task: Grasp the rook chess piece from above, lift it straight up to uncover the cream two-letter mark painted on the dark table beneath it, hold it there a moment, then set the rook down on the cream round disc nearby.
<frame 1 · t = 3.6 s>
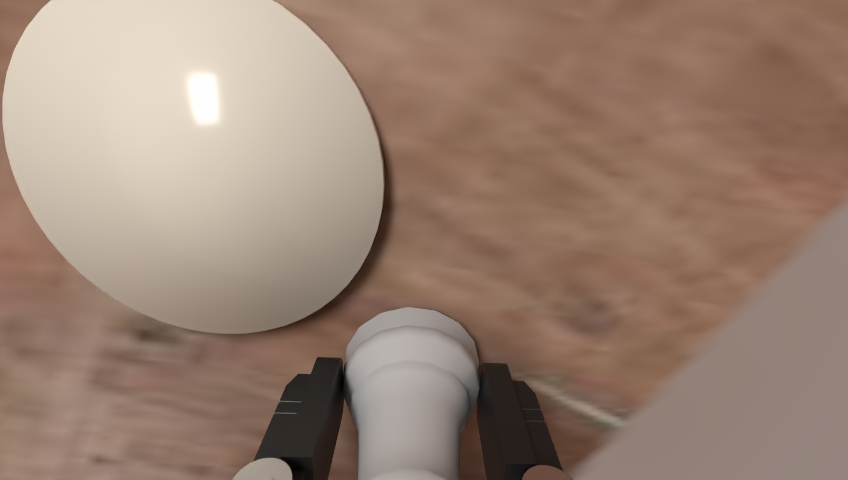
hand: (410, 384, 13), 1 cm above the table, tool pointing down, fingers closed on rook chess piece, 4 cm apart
cream round disc: (210, 175, 12), on the table
rook chess piece: (412, 352, 14), on the table, touching code mark, gripper
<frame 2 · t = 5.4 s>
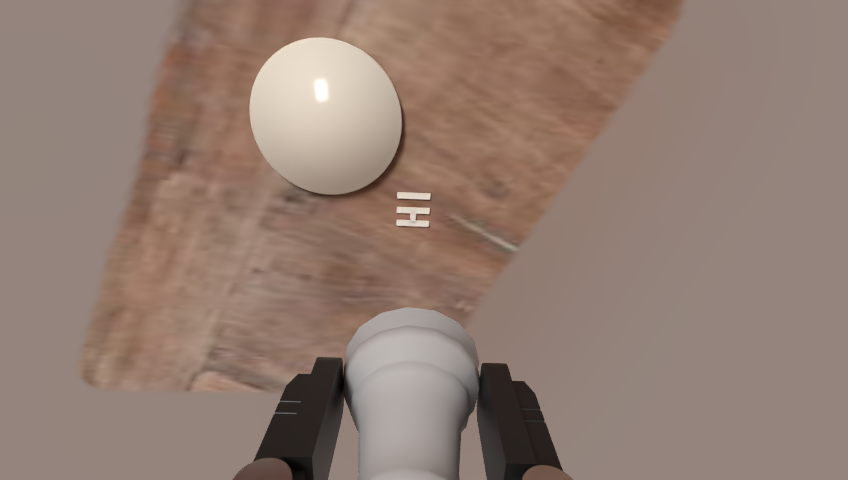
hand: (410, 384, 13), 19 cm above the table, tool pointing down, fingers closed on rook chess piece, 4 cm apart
code mark: (413, 208, 30), on the table
cream round disc: (328, 120, 28), on the table
rook chess piece: (412, 352, 14), point 17 cm above the table, touching gripper
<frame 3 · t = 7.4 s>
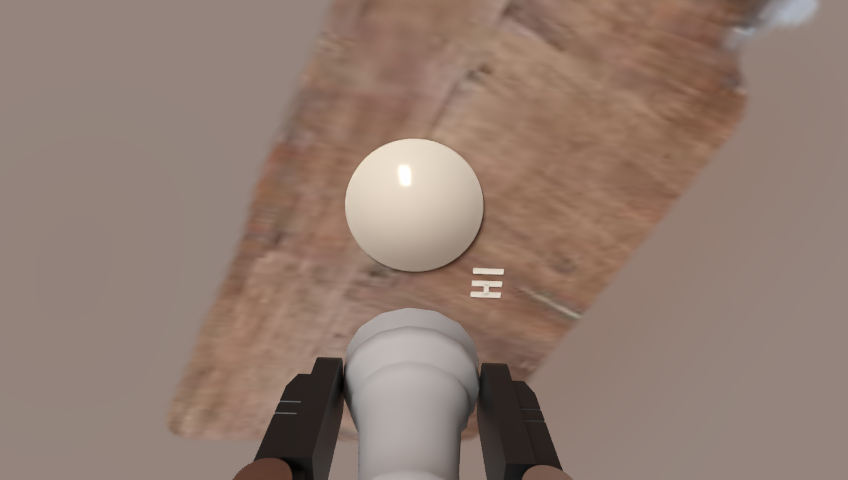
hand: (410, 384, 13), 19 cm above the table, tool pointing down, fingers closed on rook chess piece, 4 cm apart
code mark: (486, 282, 32), on the table
cream round disc: (414, 207, 30), on the table
rook chess piece: (412, 352, 14), point 17 cm above the table, touching gripper
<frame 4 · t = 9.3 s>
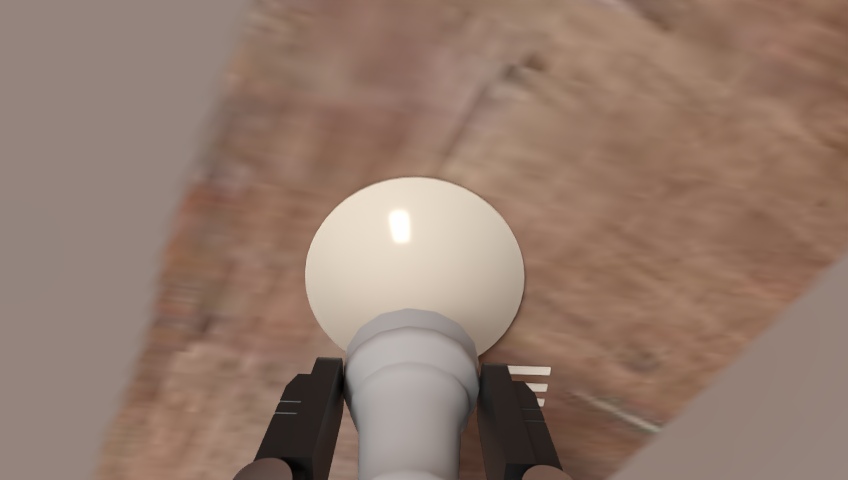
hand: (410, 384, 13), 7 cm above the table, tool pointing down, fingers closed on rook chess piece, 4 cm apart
code mark: (524, 384, 22), on the table
cream round disc: (415, 280, 19), on the table
rook chess piece: (412, 353, 14), point 5 cm above the table, touching gripper
when the fingers open (3 cm above the table, at t = 11.0 s): rook chess piece stays where it is, resting on cream round disc.
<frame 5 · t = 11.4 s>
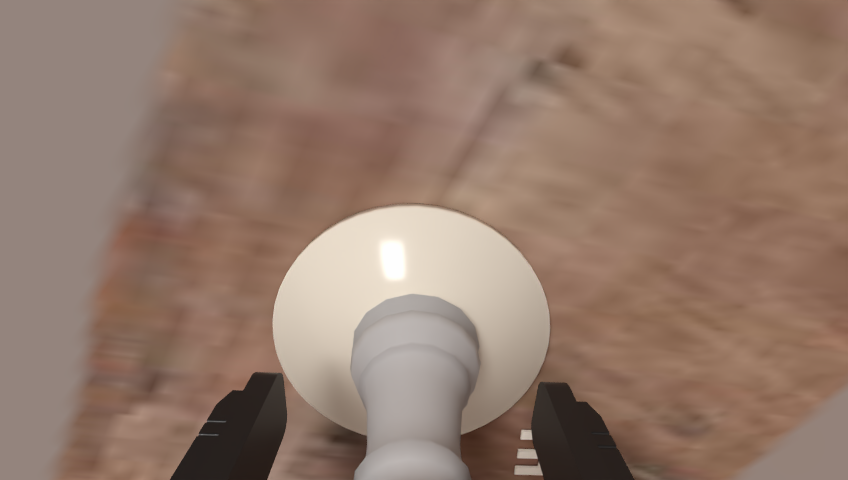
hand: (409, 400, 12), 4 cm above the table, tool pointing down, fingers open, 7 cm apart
code mark: (545, 451, 18), on the table
cream round disc: (412, 330, 15), on the table
rook chess piece: (416, 336, 15), resting on cream round disc
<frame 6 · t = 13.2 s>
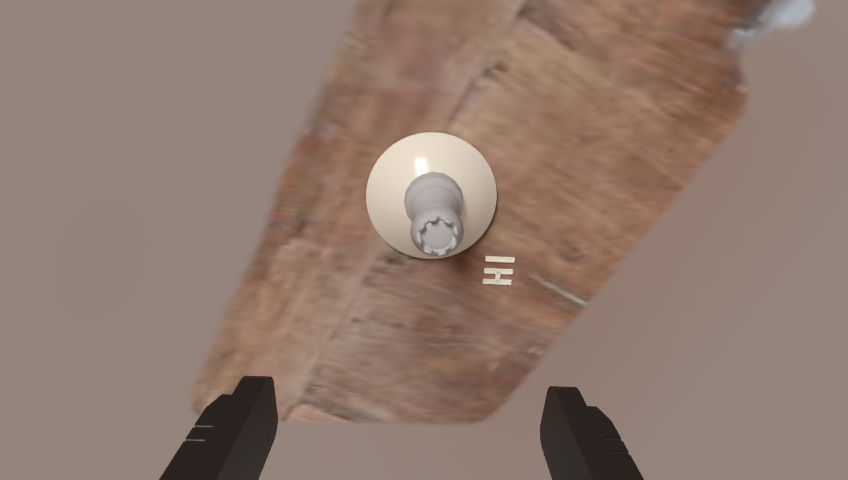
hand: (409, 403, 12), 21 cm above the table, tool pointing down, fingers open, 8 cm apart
code mark: (498, 269, 34), on the table
cream round disc: (431, 197, 32), on the table
rook chess piece: (433, 198, 31), resting on cream round disc
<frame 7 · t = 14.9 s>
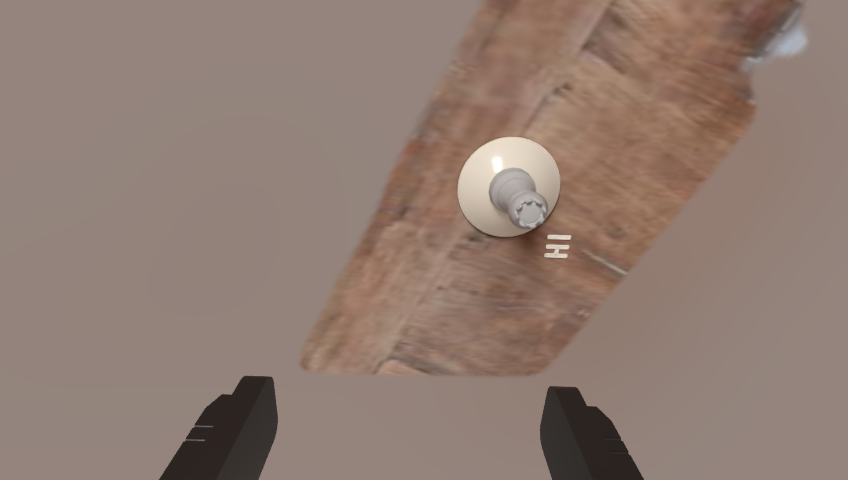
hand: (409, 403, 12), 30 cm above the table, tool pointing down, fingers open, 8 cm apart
code mark: (557, 245, 43), on the table
cream round disc: (507, 187, 40), on the table
rook chess piece: (510, 188, 40), resting on cream round disc
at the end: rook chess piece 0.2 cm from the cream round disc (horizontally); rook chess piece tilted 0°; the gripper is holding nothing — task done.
